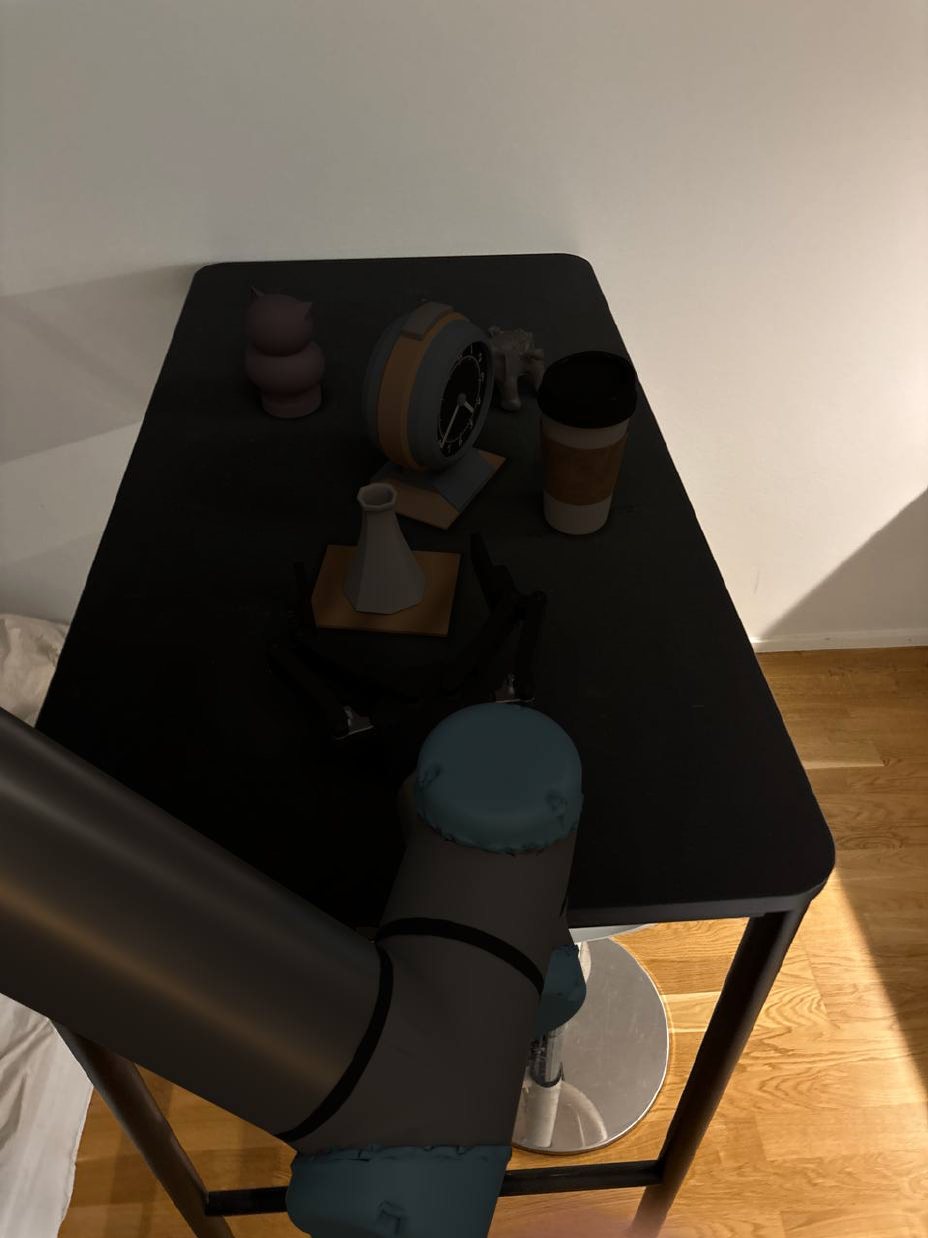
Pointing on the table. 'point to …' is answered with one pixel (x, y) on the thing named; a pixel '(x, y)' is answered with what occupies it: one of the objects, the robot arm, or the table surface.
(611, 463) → the coffee cup
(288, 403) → the cat figurine
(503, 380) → the gray elephant figurine
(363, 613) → the wooden board
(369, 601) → the flask
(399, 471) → the alarm clock
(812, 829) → the table surface
